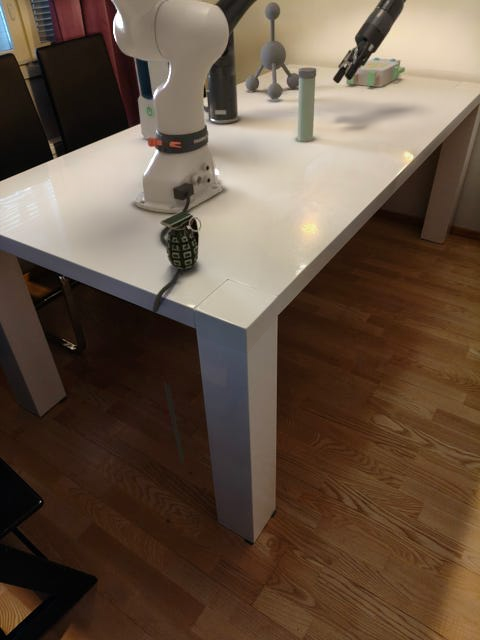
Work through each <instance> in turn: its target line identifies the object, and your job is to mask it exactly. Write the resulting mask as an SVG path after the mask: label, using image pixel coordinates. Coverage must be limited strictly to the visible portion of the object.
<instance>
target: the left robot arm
mask: <svg viewBox="0 0 480 640" xmlns="http://www.w3.org/2000/svg"><path fill="white" fill-rule="evenodd" d="M110 1H111V2H112V4H113V5H114V7H115V9H116V13H115V14H114V15H115V16H114V19H113V25H112V26H113V27H112V28H113V36H114V39H115V42H116V45H117V46H118V49H119V50H120V51H121V53H123V54H124V55H125V56H128V57H131V58H133V59H134V58H137V59H141V60H144V61H161V62H168V66H169V77H168V80H166V81H164V82H163V83H162V84H161V85H159V86H158V88H157V89H156V91H155V93H154V97H153V101H154V108H155V114H156V121H157V128H158V129H157V130H156V138H152V137H150V138H149V139H147V146H149V147H151V148H152V147H154V148H155V151H154V153H153V155H152V157H151V159H150V162H149V163H148V165H147V167H146V169H145V172H144V173H143V176H142V192H140V193H139V195H138V196H137V197H135V199H134V205H135V206H137V207H138V208H140V209H142V210H143V209H144V210H147V211H151V212H157V213H164V214H177V213H179V212H181V211H184V212H187V211H189V210H190V209H193V208H194V207H196V206H198V205H199V204H201V203H203V202H205V201H207V200H208V199H210V198H212V197H214V196H215V195H217V194H219V193H220V192H222V191H223V185H222V184H220V183H219V180H218V176H219V175H220V172H219V170H218V169H217V168H216V163H215V156H214V155H213V153H212V152H211V149H210V147H209V145H208V143H209V130H208V126H207V124H206V121H205V109H204V106H205V103H204V94H205V93H204V92H205V85H206V80H207V78H208V76H207V75H208V72H209V70H210V68H211V67H212V65H213V64H214V63H215V62H216V60H218V59H219V58H220V57H221V55H222V54H223V52H224V51H225V49H226V46H227V43H228V38H229V28H228V23H227V20H226V17H225V15H224V13H223V12H222V10H221V9H220V8H219V7H218V6H216V5H213V4H214V3H213V4H212V3H210V2H205V1H200V0H110ZM169 230H171V227H170V228H169V227H166V226H164V228H163V229H161V232H160V234H159V237H160V241H161V242H162V243H163V244H164V245H165V246H167V238H165V234H166V233H168V231H169ZM183 271H184V270H183V269H180V268H177V270H176V271H175V273H174V274H173V276H172V278H171V279H170V280H169V281H168V283H166V284H165V285H164V286H163V287H161V289H160V290H159V291H158V293H156V296H155V298H154V302H153V307H152V313H157V312H158V311H159V307H160V306H159V305H160V302H161V299H162V297H163V295H164V294H165V293H166V292H167V291H168V290H169V289H170V288H172V286H173V285H174V284H175V283H176V281H177V280H178V278H179V276H180V275H181V273H182V272H183ZM163 384H164V389H165V394H166V399H167V404H168V410H169V414H170V417H171V423H172V428H173V432H174V437H175V442H176V445H177V446H176V447H177V451H178V456H179V462H180V464H181V465H184V464H185V459H184V453H183V448H182V447H183V446H182V442H181V438H180V432H179V429H178V428H179V427H178V422H177V417H176V413H175V408H174V403H173V398H172V392H171V387H170V384H168V383H167V382H165V381H163Z"/></svg>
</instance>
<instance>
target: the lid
mask: <svg viewBox="0 0 480 640" xmlns="http://www.w3.org/2000/svg"><path fill="white" fill-rule="evenodd" d="M297 74H298V76H299V77H301V78H312V77H315V78H316V77H317V68H316V67H301V68H298V71H297Z"/></svg>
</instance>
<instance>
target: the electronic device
mask: <svg viewBox="0 0 480 640" xmlns="http://www.w3.org/2000/svg"><path fill="white" fill-rule="evenodd" d="M133 60H134V61H133V62H134V65H135V72H136V79H137V86H138V90H139V97H138V98H137V103H138V113H139V123H140V129H141V130H140V131H141V135H142V136H143V138H144V139H146V140H148V139H149V138H150V137H152V138H156V130H157V129H158V128H157V121H156V114H155V108H154V101H153V97H154V93H155V91H156V89H157V88H158V86H159V85H161V84H162V83H163V82H164V81H166V80H168V77H169V72H170V67H169V62H161V61H144V60H141V59H137V58H134V57H133Z"/></svg>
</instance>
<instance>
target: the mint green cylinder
mask: <svg viewBox="0 0 480 640" xmlns="http://www.w3.org/2000/svg"><path fill="white" fill-rule="evenodd" d="M315 95H316V76H315V77H312V78H301V77H299V86H298V98H297V99H298V100H297V101H298V102H297V103H298V104H297V105H298V106H297V141H299V142H303V143H305V142H306V143H307V142H311V141H313V139H314V121H315V120H314V118H315Z"/></svg>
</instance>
